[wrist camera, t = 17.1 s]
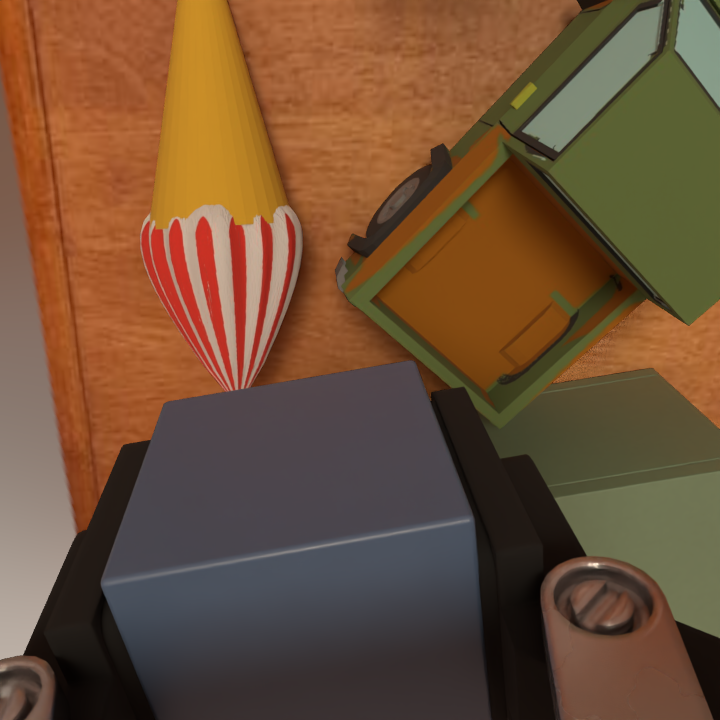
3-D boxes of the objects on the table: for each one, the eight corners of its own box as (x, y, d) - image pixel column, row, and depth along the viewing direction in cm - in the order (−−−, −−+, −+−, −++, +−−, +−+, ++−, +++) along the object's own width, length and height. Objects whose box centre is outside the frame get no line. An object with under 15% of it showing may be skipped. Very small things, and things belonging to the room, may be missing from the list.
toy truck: (827, 62, 30) (1057, 73, 21) (473, 390, 35) (535, 510, 26) (682, -162, 26) (887, -267, 17) (308, 247, 31) (314, 330, 22)
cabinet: (416, 571, 40) (448, 707, 32) (395, 408, 35) (427, 519, 27) (642, 534, 41) (731, 659, 32) (652, 367, 36) (760, 464, 28)
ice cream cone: (232, -67, 30) (268, 382, 34) (81, -102, 26) (141, 408, 30) (312, -128, 25) (343, 404, 29) (141, -182, 21) (203, 439, 25)
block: (222, 590, 12) (191, 817, 9) (162, 400, 11) (96, 584, 7) (439, 553, 12) (498, 762, 9) (414, 357, 11) (476, 516, 7)
